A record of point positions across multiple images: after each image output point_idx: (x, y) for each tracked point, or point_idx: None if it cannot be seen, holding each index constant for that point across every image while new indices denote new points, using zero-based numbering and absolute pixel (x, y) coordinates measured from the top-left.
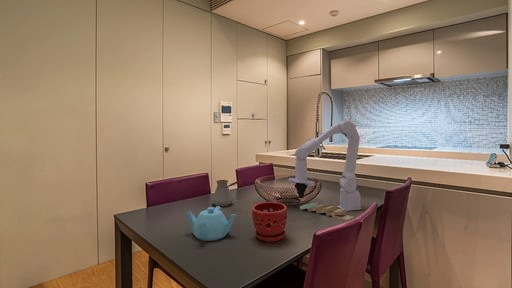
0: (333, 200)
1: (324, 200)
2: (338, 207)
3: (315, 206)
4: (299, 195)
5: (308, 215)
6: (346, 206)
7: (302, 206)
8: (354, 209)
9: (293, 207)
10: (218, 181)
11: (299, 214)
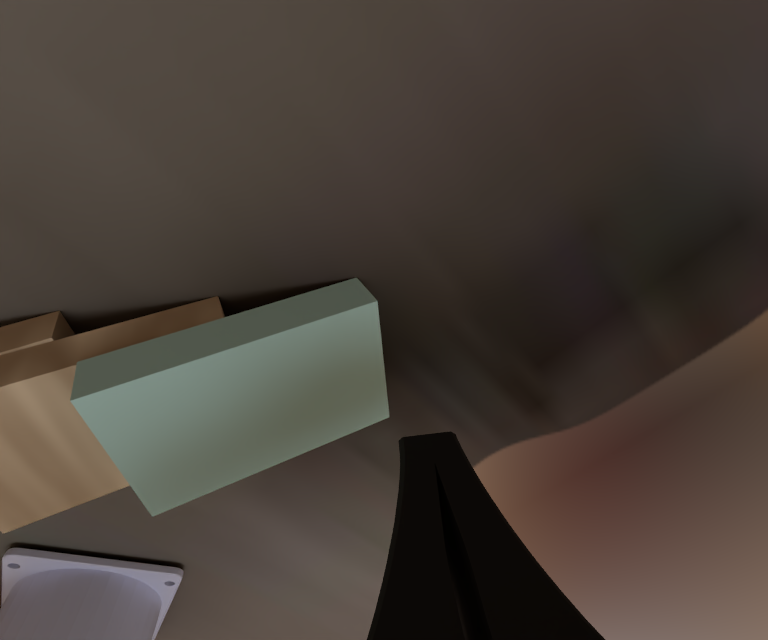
0: (345, 623)
1: None
2: (140, 564)
3: None
4: (442, 478)
5: (21, 144)
6: (16, 604)
7: (318, 315)
8: (1, 601)
9: (506, 284)
10: None
11: (158, 56)
